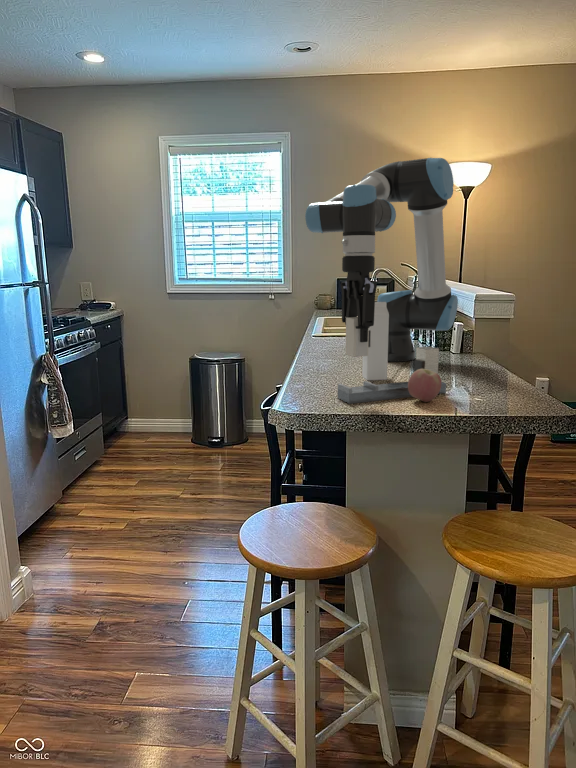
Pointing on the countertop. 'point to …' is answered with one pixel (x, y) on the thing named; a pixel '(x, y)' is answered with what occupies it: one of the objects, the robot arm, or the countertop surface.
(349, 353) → the short white pillar
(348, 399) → the rail
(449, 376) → the countertop surface
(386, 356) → the milk
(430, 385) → the apple
